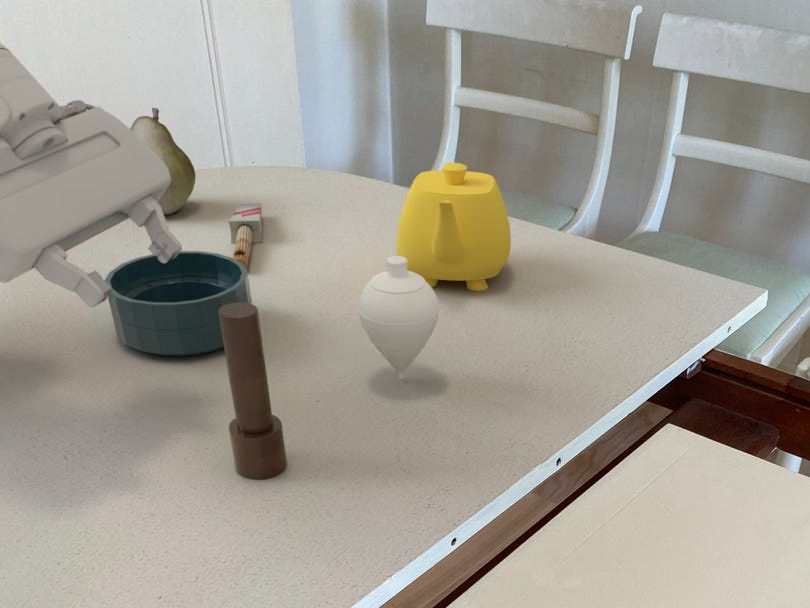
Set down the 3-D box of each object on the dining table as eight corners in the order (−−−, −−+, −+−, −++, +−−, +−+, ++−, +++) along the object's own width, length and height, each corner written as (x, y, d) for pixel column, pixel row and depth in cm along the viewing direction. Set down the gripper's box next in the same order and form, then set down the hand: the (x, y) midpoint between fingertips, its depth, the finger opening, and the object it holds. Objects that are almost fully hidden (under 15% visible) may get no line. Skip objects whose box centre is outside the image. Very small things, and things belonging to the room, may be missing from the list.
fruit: (204, 199, 136) (189, 103, 128) (194, 223, 129) (177, 123, 121) (129, 199, 135) (109, 103, 127) (115, 222, 128) (92, 122, 120)
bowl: (104, 362, 98) (89, 304, 94) (134, 304, 109) (122, 250, 105) (245, 361, 99) (236, 304, 95) (261, 304, 110) (254, 251, 106)
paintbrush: (264, 191, 129) (253, 254, 115) (267, 212, 131) (256, 277, 117) (234, 191, 129) (220, 255, 114) (237, 213, 131) (223, 277, 116)
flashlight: (232, 479, 83) (204, 321, 74) (239, 452, 86) (213, 298, 77) (284, 479, 83) (263, 322, 74) (289, 452, 86) (269, 298, 77)
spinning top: (453, 387, 96) (453, 265, 88) (382, 404, 93) (376, 280, 85) (417, 355, 101) (415, 238, 93) (350, 371, 98) (341, 251, 90)
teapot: (386, 309, 110) (380, 193, 101) (408, 244, 124) (405, 139, 116) (504, 315, 109) (509, 199, 101) (512, 249, 124) (517, 144, 116)
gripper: (73, 122, 82) (194, 256, 86) (-116, 196, 68) (40, 351, 72) (104, 67, 78) (229, 210, 82) (-90, 133, 64) (73, 302, 68)
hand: (140, 277), depth 77 cm, fingers open, 8 cm apart
